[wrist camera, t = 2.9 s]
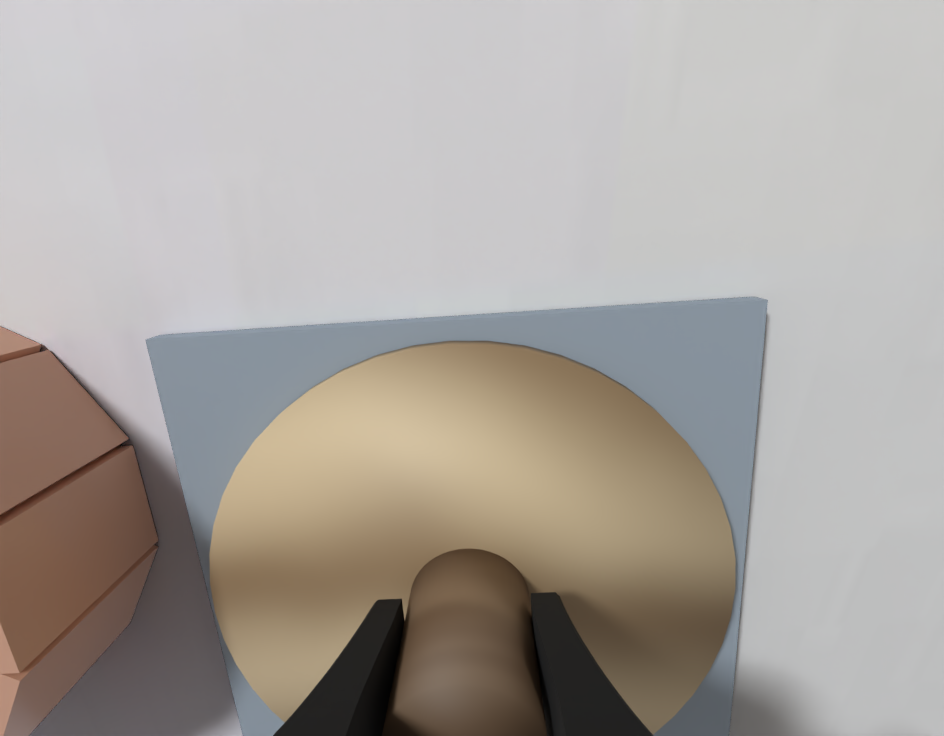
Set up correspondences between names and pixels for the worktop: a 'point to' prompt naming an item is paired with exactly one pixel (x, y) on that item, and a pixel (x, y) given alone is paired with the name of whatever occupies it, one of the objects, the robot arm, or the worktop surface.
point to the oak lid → (473, 537)
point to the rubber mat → (558, 331)
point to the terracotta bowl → (61, 533)
